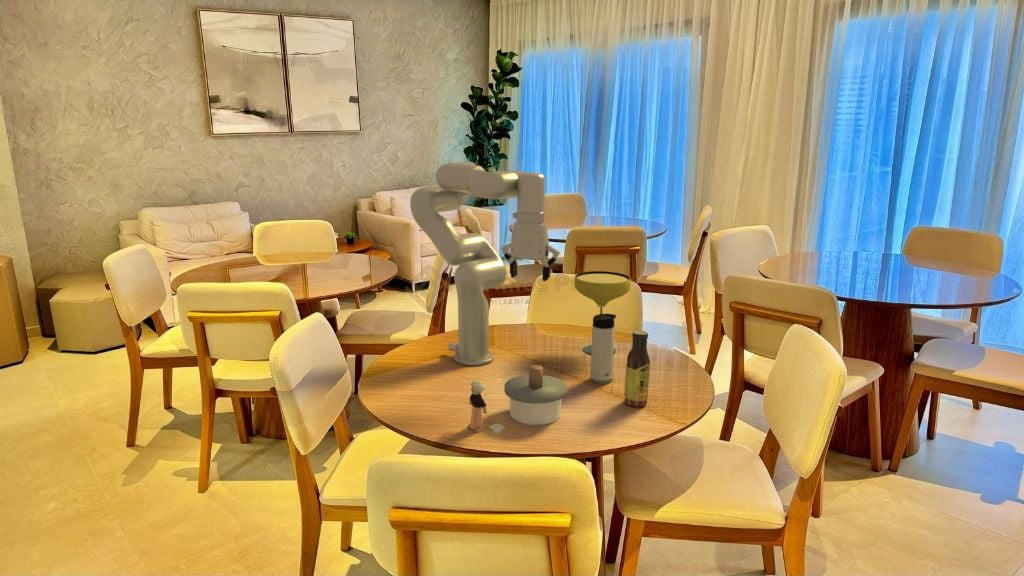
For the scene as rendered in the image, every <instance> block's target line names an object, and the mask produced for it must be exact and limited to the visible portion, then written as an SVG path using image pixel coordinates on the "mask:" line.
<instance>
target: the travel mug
mask: <svg viewBox="0 0 1024 576" xmlns="http://www.w3.org/2000/svg"><path fill="white" fill-rule="evenodd" d="M615 319H617V315H616V314H615V313H614V314H613V313H602V314H600V313H599V314H595V315H593V317H592V331H591V333H592V334H591V345H592V351H591V355H590V360H591V361H590V380H591V382H592V383H595V384H598V385H599V384H600V385H606V384H609V383H611V382H612V381H613V364H614V361H613V360H614V354H613V348H614V345H615V344H614V343H615V342H614V341H615Z"/></svg>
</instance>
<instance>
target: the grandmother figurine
mask: <svg viewBox="0 0 1024 576" xmlns="http://www.w3.org/2000/svg"><path fill="white" fill-rule="evenodd" d="M470 385H471V388H470V392H471V394H470V396H469V401H468V404H469V405H471V415H470V423H468V425H467V428H469V429H471V430H473V432H474V433H481V432H483V431H484V430H485V427H483V414H484V415H487V413H488V409H487V406H488V405H487V404H486V402H485V400H484V399H483V396H482V394H481V393H482V392H483V391H484V390H486V386H485V385H484V383H483V382H482V381H480V380H477V379H474V380H472V381H471V384H470Z"/></svg>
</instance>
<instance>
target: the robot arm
mask: <svg viewBox="0 0 1024 576" xmlns="http://www.w3.org/2000/svg"><path fill="white" fill-rule="evenodd" d="M435 181H436V183H437V185H428V186H423V187H420V188H417V189H416V190H415V191H413V193H412V194H411V196H410V201H409V202H410V203H409V206H410V212H411V214H412V217H413V220H414V221H415V223H416V224H417V226H418V227H419V228H420V229H421V230H422V231H423V232H424V234H426V235H427V237H428V238H429V239H430V241H431V242H432V244H433V246H434V248H436V250H437V251H438V252H439V254H440V255H441V257H442V259H443V260H444V261H445V262H446V263H447V265H450V266H452V267H455V266H458V267H457V268H456V269H455V271H454V275H453V276H454V278H453V280H454V285H455V288H456V294H457V315H458V316H457V318H458V319H457V320H458V321H457V327H458V328H457V329H458V337H457V338H458V343H456V342H449V343H448V347H447V349H448V351H451V352H455V353H454V354H453V360H454V361H455V362H456V363H457V364H460V365H463V366H483V365H486V364H491V362H492V361H493V360H494V359H495V358H494V353H492V352H491V351H489V347H490V345H489V344H490V340H489V339H490V338H489V334H490V333H489V332H490V330H489V329H490V326H489V324H490V323H489V321H490V319H489V309H490V307H489V302H488V299H487V298H486V296H485V294H484V291H485V290H489V289H494V288H497V287H500V286H502V285H503V284H504V283H506V280H507V277H508V271H507V270H508V269H507V268H506V265H505V263H504V261H503V260H502V258H501V257H500V256H499V254H498V253H497V251H496V250H495V248H493V246H492V245H491V244H490V242H489V241H488V239H486V238H485V237H484V236H483V235H482V234H480V233H476V232H469V233H460V231H458V230H457V229H456V227H455V226H454V225H453V223H452V222H451V221H450V220H449V219H448V218H446V217H444V216H443V215H441V214H440V213H442V212H444V213H445V212H451V211H455V210H458V209H460V208H461V207H463V205H464V204H465V203H466V201H467V200H468V199H469V197H471V195H472V196H473V197H475V198H481V199H482V198H483V199H488V200H503V199H511V198H513V199H515V198H517V199H516V201H517V202H516V203H517V205H516V207H517V209H516V212H513V213H512V218H513V219H514V218H515V219H516V221H515V222H513V223H514V224H513V226H512V233H511V239H510V243H507V244H505V245H503V246H501V247H500V249H501V252H502V254H503V256H504V258H505V259H506V261H507V262H508V264H509V274H510V278H511V279H514V278H515V277H517V276H518V259H520V260H529V261H541V263H542V264H543V267H542V281H543V282H546V281H548V280H549V279H550V278H551V267H552V265H553V264H554V263H555V262H556V261H557V259H558V258H559V256H560V254H561V252H560V250H558V249H556V248H555V247H554V246H552V245H550V243H549V231H548V227H547V223H546V222H545V205H546V204H545V197H546V195H545V193H546V179H545V175H544V174H543V173H539V172H527V171H524V170H518V169H517V170H516V169H515V170H502V171H501V170H500V171H485V169H484V168H483V167H482V166H481V165H476V163H472V162H470V161H461V162H458V161H457V162H447V163H444V164H442V165H440V166H439V167H438V169H437V170H436V171H435ZM509 250H510V252H509ZM549 253H551V254H552V256H551V258H549V255H550V254H549Z"/></svg>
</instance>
